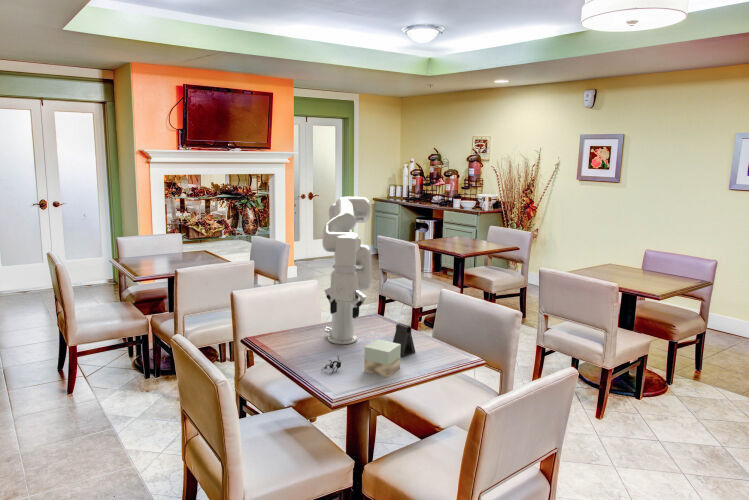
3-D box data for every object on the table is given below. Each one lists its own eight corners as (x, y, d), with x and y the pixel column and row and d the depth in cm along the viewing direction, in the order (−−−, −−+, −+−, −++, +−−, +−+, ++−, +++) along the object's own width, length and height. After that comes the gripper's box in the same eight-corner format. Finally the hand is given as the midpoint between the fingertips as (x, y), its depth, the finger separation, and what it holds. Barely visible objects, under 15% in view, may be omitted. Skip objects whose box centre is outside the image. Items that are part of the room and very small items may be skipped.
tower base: (364, 372, 203) (364, 359, 202) (376, 363, 211) (377, 351, 210) (387, 377, 198) (388, 364, 197) (399, 368, 207) (400, 356, 206)
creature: (324, 379, 197) (345, 372, 199) (321, 365, 196) (342, 359, 198) (320, 370, 205) (340, 364, 207) (317, 357, 204) (337, 351, 206)
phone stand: (400, 357, 217) (401, 328, 215) (389, 353, 222) (390, 325, 219) (415, 352, 223) (416, 324, 221) (404, 348, 228) (406, 321, 226)
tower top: (364, 359, 202) (364, 346, 201) (377, 351, 210) (377, 339, 209) (388, 365, 197) (388, 352, 196) (400, 356, 205) (400, 344, 205)
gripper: (319, 268, 197) (319, 313, 200) (360, 274, 189) (358, 321, 192) (331, 265, 204) (331, 309, 207) (371, 270, 195) (369, 316, 198)
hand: (344, 315), depth 199 cm, fingers open, 9 cm apart
